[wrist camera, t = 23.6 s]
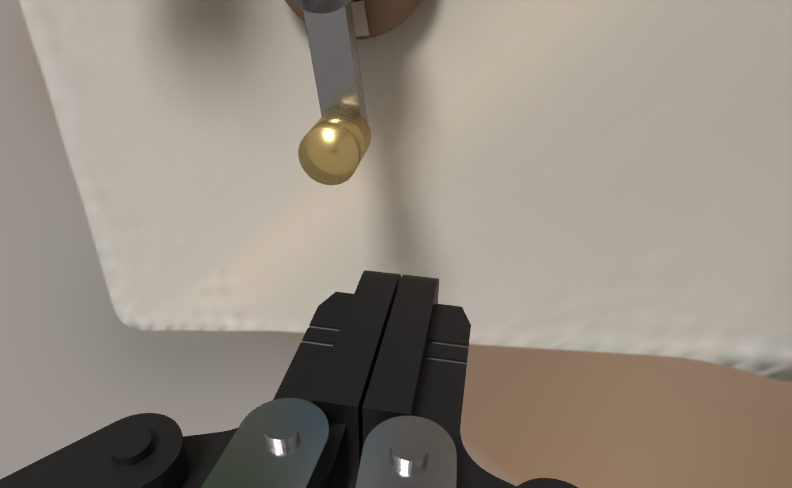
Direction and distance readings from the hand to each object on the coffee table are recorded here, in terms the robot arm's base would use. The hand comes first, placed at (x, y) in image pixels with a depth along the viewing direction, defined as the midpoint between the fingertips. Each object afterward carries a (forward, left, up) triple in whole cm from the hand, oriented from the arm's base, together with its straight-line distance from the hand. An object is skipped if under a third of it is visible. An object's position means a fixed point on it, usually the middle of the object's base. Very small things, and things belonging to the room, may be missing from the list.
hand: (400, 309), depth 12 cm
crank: (+6, -2, -19) cm, 20 cm away
